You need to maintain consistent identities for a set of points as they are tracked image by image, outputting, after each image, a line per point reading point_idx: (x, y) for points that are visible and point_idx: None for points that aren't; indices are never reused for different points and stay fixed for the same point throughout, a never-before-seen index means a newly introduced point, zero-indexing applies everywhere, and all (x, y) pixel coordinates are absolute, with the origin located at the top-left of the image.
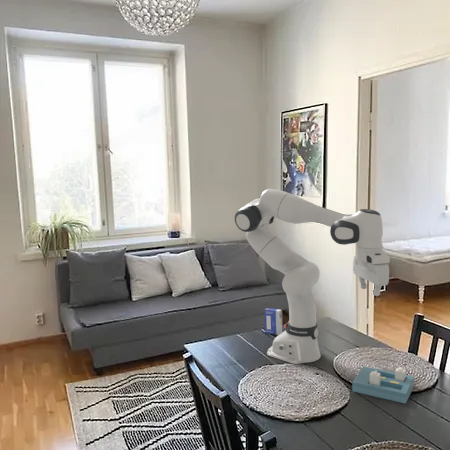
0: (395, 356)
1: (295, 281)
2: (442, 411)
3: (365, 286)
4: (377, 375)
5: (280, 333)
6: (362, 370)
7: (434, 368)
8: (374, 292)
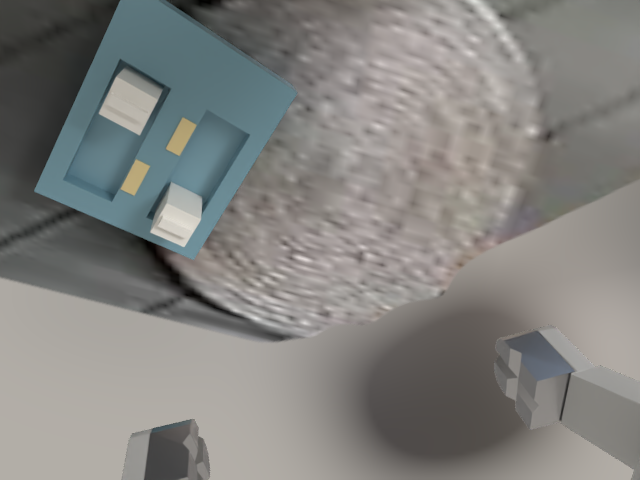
0: (424, 246)
1: None
2: (10, 272)
3: (517, 389)
4: (110, 113)
5: None
6: (255, 74)
7: (315, 329)
8: (135, 468)
